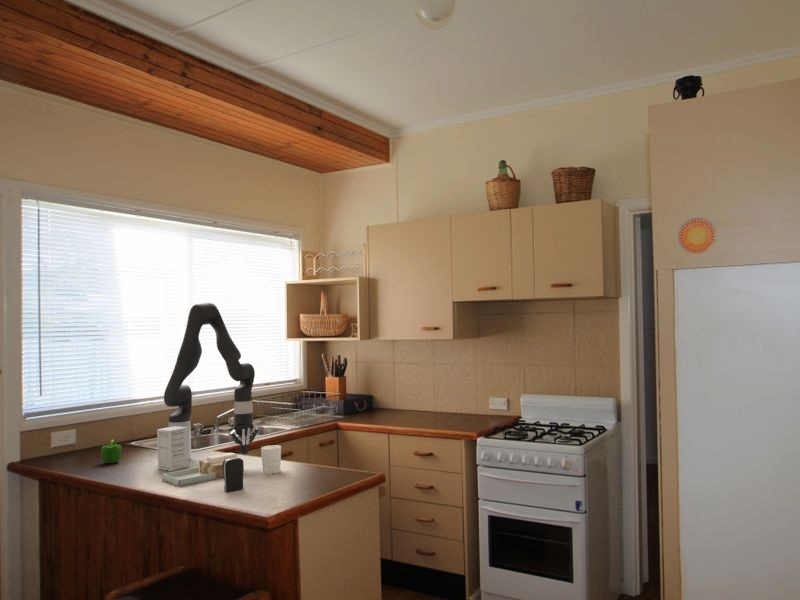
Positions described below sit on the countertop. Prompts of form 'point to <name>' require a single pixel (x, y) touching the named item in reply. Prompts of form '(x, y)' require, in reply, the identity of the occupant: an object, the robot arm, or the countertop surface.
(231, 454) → the tile back
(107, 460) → the bell pepper
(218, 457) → the tile front
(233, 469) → the battery charger
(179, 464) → the supplement box
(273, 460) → the white cup
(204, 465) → the tan flat block
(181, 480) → the tray
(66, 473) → the countertop surface
